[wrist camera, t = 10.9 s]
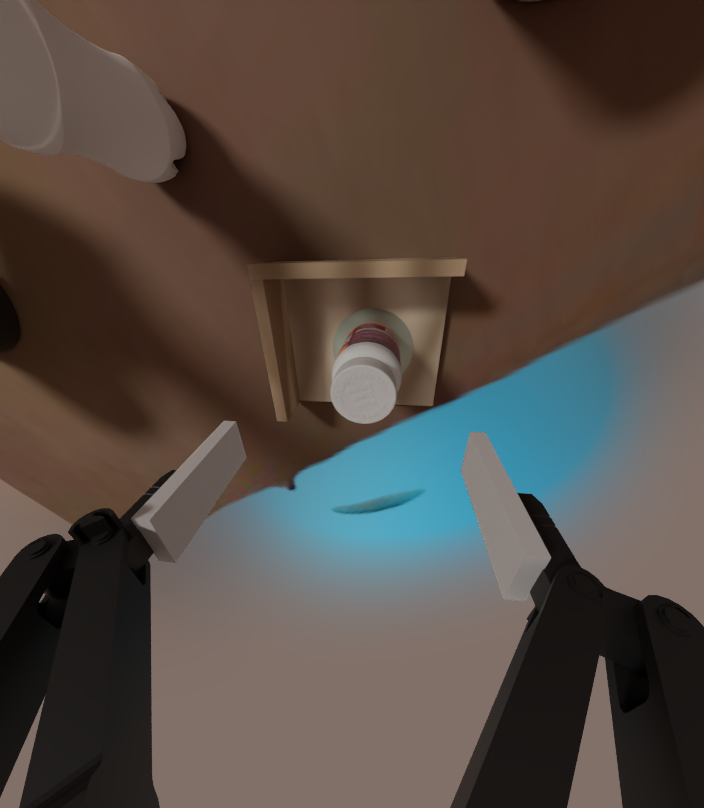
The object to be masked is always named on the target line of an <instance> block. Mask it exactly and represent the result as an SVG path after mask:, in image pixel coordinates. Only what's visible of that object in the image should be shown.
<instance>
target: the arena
mask: <svg viewBox="0 0 704 808" xmlns="http://www.w3.org/2000/svg"><path fill="white" fill-rule="evenodd" d="M466 262H467V259H463V258H455V257H442V258H401V259H361V260H320V261H279V262H264V263H254V264H247V269H248V274H249V279H250V284H251V289H252V295H253V300H254V305H255V310H256V315H257V320H258V325H259V330H260V336H261V341H262V346H263V351H264V356H265V361H266V366H267V371H268V377H269V382H270V387H271V392H272V397H273V402H274V407H275V412H276V418H277V421H284V422H287V421H288V420H289V418H290V416H291V415H292V413H293V411H294V410H295V408H296V407H297V405H298V403H299V402H300V401H323V402H332V400H331V385H332V368H333V365H334V362H335V360H336V358H337V356H338V354H339V352H340V350H341V348H342V346H343V344H344V342H345V340H346V338H347V336H348V335H349V333H350V332H351V331H352V330H353V329H354V328H355V327H357V326H359V325H361V324H363V323H368V322H375V323H380V324H382V325H385V326H386V327H388V328H389V329H390V330H392V331H393V333H394V334H395V336H396V337H397V340H398V343H399V349H400V362H401V370H402V371H401V372H402V380H401V385H400V388H399V390H398V392H397V398H396V403H395V405H418V406H433V401H434V394H435V387H436V380H437V373H438V366H439V359H440V352H441V345H442V338H443V331H444V324H445V317H446V310H447V303H448V296H449V289H450V282H451V276H464V274H465V268H466Z"/></svg>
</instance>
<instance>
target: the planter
mask: <svg viewBox="0 0 704 808" xmlns="http://www.w3.org/2000/svg"><path fill="white" fill-rule="evenodd" d="M516 1H520V2H529V3H530V2H539V1H544V0H516Z"/></svg>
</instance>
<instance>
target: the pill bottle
mask: <svg viewBox="0 0 704 808" xmlns="http://www.w3.org/2000/svg"><path fill="white" fill-rule="evenodd" d="M401 371H402V370H401V362H400V349H399V343H398V340H397V337H396V336H395V334H394V333H393V331H392V330H390V329H389V328H388V327H386V326H385V325H382V324H380V323H375V322H368V323H363V324H361V325H359V326H357V327H355V328H354V329H353V330H352V331H351V332H350V333H349V335H348V336H347V338H346V340H345V342H344V344H343V346H342V348H341V350H340V352H339V354H338V356H337V358H336V360H335V362H334V365H333V368H332V385H331V400H332V403H333V405H334V407H335V408H336V410H337V411H338V412H339V413H340V414H341V415H342V416H343V417H345V418H346V419H348V420H350V421H353V422H356V423H362V424H369V423H374V422H377V421H380V420H382V419H383V418H385V417H386V416H387V415H388V414H389V413H390V412H391V411H392V410H393V408H394V406H395V403H396V398H397V392H398V390H399V388H400V385H401V380H402V372H401Z"/></svg>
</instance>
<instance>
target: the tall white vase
mask: <svg viewBox="0 0 704 808" xmlns="http://www.w3.org/2000/svg"><path fill="white" fill-rule="evenodd" d="M0 141H4V142H6V143H8V144H9V145H12V146H14V147H17V148H20V149H23V150H27V151H31V152H34V153H38V154H42V155H56V154H73V155H78V156H82V157H86V158H89V159H91V160H94V161H96V162H98V163H101V164H103V165H105V166H107V167H109V168H111V169H112V170H114V171H115V172H117V173H119V174H121V175H123V176H125V177H127V178H130V179H134V180H138V181H142V182H148V183H160V182H164V181H167V180H170V179H172V178H173V177H175V176H176V174H177V172H178V169H177V168H176V166H175V164H174V163H173V161H174V160H177V159H181V158H183V157H184V155H185V151H186V147H187V146H186V138H185V133H184V130H183V127H182V125H181V123H180V121H179V119H178V117H177V116H176V114H175V112H174V111H173V109H172V108H171V106H170V105H169V104H168V103H167V100H166V98H165V96H164V95H163V93H162V91H161V90H160V88H159V87H158V85H157V84H156V83H155V82H154V81H153V80H152V79H151V78H150V77H149V76H147V75H146V74H145V73H144V72H143V71H142V70H140V69H139V68H138V67H137V66H135V65H134V64H133V63H131V62H130V61H129V60H127V59H126V58H124V57H123V56H121V55H118V54H115V53H111V52H109V51H106V50H104V49H101V48H100V47H98V46H96V45H94V44H92V43H90V42H88V41H87V40H85V39H84V38H82V37H80V36H79V35H77V34H76V33H74V32H73V31H71V30H70V29H69V28H67V27H66V26H65V25H63V24H62V23H61V22H60V21H58V20H57V19H56V18H55V17H54V16H52V15H51V14H50V13H49V12H48V11H46V10H45V9H44V8H43V7H42V6H41V5H40V4H39V3H38V2H37V1H35V0H0Z"/></svg>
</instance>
